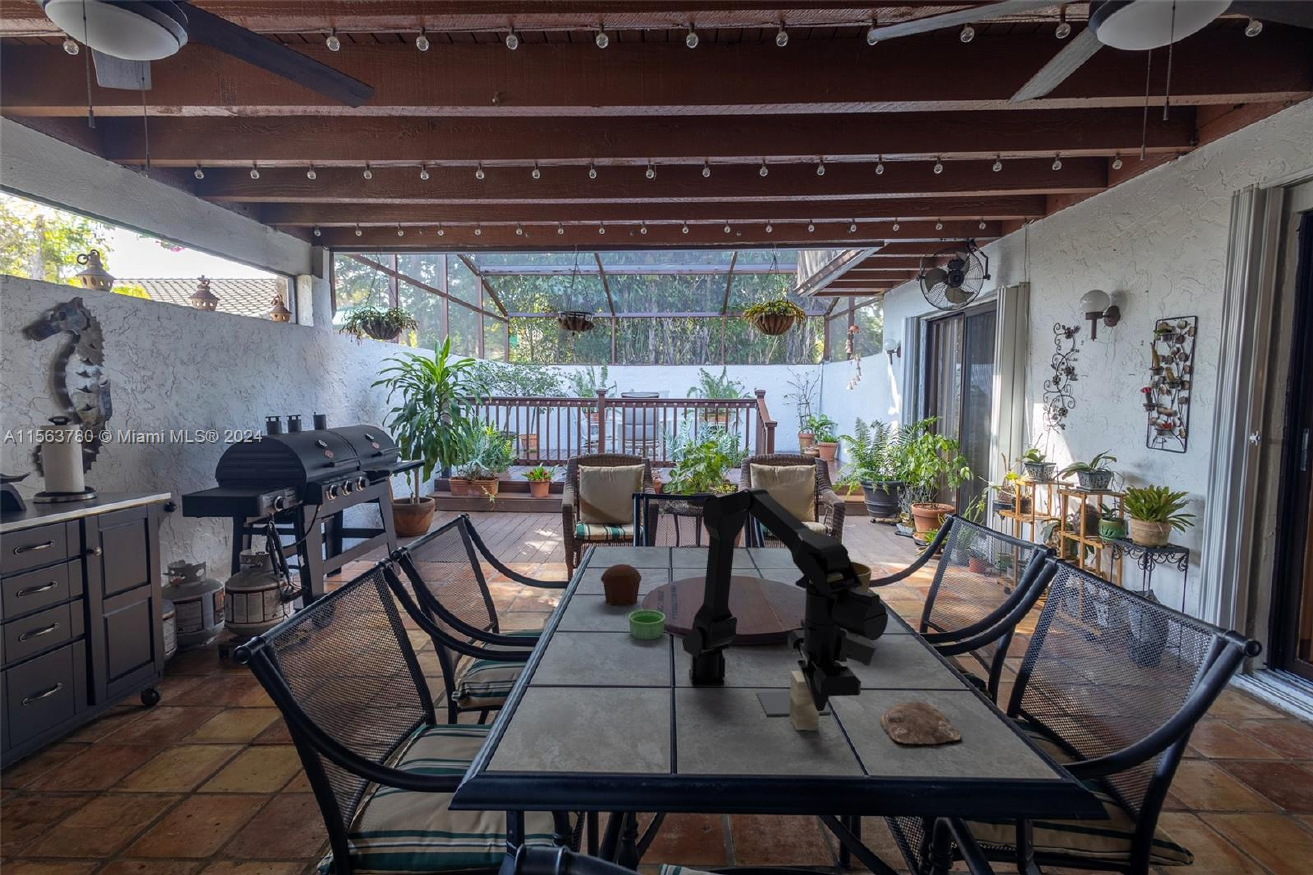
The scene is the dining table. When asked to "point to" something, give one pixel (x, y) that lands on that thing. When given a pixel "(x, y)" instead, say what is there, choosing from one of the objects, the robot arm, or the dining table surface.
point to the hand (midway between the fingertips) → (819, 709)
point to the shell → (919, 725)
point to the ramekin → (646, 624)
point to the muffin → (621, 585)
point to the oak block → (802, 704)
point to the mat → (779, 703)
